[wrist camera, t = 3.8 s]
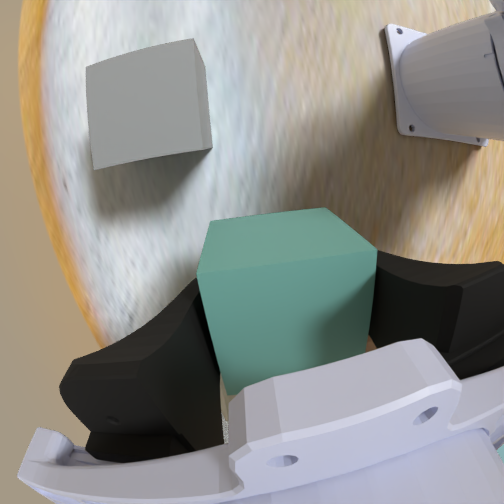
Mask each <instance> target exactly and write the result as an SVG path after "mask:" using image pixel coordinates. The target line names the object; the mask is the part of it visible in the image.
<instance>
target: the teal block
mask: <svg viewBox="0 0 504 504" xmlns="http://www.w3.org/2000/svg"><path fill="white" fill-rule="evenodd" d="M376 262H377V249H376V248H375V247H374V246H373V245H372V244H370V243H369V242H368V241H367V240H366V239H364V238H363V237H362V236H361V235H360V234H358V233H357V232H356V231H355V230H353V229H352V228H351V227H350V226H349V225H347V224H346V223H345V222H344V221H342V220H341V219H340V218H339V217H337V216H336V215H335V214H333V213H332V212H331V211H330V210H328V209H327V208H326V207H323V208H313V209H304V210H295V211H286V212H277V213H269V214H261V215H252V216H245V217H237V218H229V219H222V220H215V221H210V225H209V228H208V232H207V235H206V239H205V243H204V246H203V250H202V254H201V257H200V261H199V265H198V269H197V273H196V275H197V280H198V284H199V289H200V293H201V297H202V302H203V306H204V310H205V314H206V318H207V322H208V326H209V330H210V334H211V338H212V342H213V346H214V350H215V354H216V357H217V361H218V365H219V368H220V372H221V375H222V379H223V383H224V386H225V389H226V393H227V396H228V395H237V394H238V393H239V392H240V391H241V390H242V389H243V388H245V387H247V386H250V385H252V384H255V383H258V382H261V381H263V380H266V379H268V378H271V377H274V376H279V375H284V374H288V373H293V372H297V371H301V370H306V369H310V368H314V367H318V366H321V365H325V364H329V363H333V362H336V361H340V360H343V359H347V358H350V357H353V356H357V355H360V354H363V353H365V351H366V345H367V339H368V332H369V326H370V319H371V311H372V303H373V294H374V285H375V274H376Z"/></svg>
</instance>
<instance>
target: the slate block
mask: <svg viewBox="0 0 504 504" xmlns="http://www.w3.org/2000/svg"><path fill="white" fill-rule="evenodd" d="M86 97H87V113H88V126H89V136H90V145H91V153H92V160H93V167H94V170H98V169H102V168H106V167H110V166H114V165H119V164H124V163H128V162H133V161H138V160H143V159H148V158H154V157H159V156H165V155H171V154H177V153H183V152H190V151H197V150H204V149H208V148H213V145H212V135H211V125H210V115H209V104H208V93H207V81H206V69H205V65H204V62H203V60H202V58H201V55H200V53H199V50H198V48H197V46H196V43H195V41H194V39H187V40H181V41H176V42H171V43H166V44H161V45H157V46H152V47H148V48H144V49H140V50H137V51H133V52H129V53H126V54H123V55H119V56H116V57H113V58H110V59H107V60H104V61H101V62H98V63H95V64H93V65H90V66H87V67H86Z"/></svg>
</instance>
